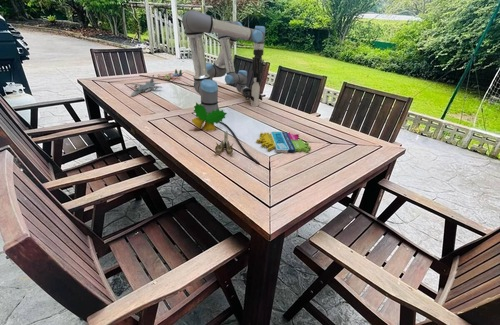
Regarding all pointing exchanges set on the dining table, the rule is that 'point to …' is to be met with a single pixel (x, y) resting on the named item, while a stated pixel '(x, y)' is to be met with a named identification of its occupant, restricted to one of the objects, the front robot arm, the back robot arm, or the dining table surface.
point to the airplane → (145, 87)
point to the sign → (283, 142)
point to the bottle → (255, 94)
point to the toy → (172, 75)
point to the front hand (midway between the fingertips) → (256, 81)
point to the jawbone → (224, 145)
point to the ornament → (207, 117)
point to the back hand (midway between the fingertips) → (257, 99)
